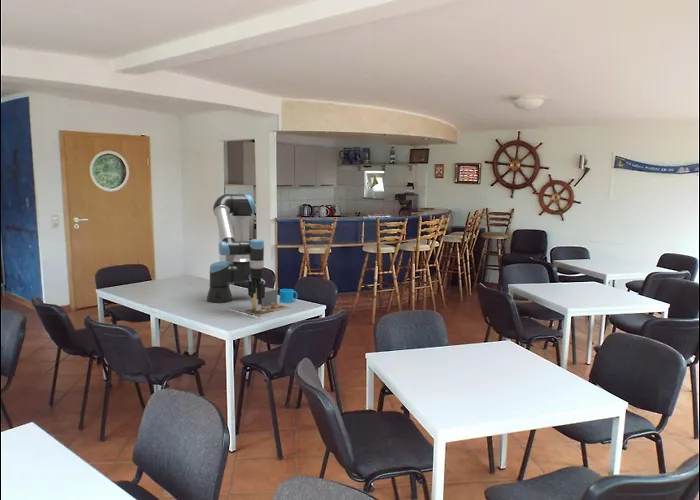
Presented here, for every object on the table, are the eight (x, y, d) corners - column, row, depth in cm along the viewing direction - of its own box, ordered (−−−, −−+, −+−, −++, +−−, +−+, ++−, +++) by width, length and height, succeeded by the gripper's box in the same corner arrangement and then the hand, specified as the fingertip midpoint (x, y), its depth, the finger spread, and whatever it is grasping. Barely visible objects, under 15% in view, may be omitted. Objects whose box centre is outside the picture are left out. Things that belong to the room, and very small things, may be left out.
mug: (284, 305, 312) (284, 292, 311) (277, 302, 318) (277, 289, 317) (301, 303, 320) (301, 290, 319) (293, 300, 326) (293, 287, 325)
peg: (251, 314, 289) (251, 292, 288) (256, 313, 292) (256, 292, 291) (255, 315, 287) (256, 293, 286) (260, 314, 290) (260, 293, 288)
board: (261, 309, 301) (261, 302, 300) (276, 306, 310) (277, 299, 309) (275, 313, 293) (275, 305, 293) (291, 309, 302) (291, 302, 302)
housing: (252, 305, 310) (253, 289, 309) (265, 302, 318) (265, 287, 316) (264, 308, 304) (264, 292, 302) (277, 305, 311) (277, 289, 310)
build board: (245, 313, 291) (245, 310, 291) (260, 309, 300) (260, 307, 299) (258, 316, 284) (258, 313, 284) (273, 313, 293) (273, 310, 292)
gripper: (241, 266, 289) (241, 308, 291) (261, 270, 278) (260, 313, 281) (252, 265, 294) (251, 306, 297) (272, 268, 284) (271, 311, 287)
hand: (256, 309), depth 289 cm, fingers closed on peg, 3 cm apart
